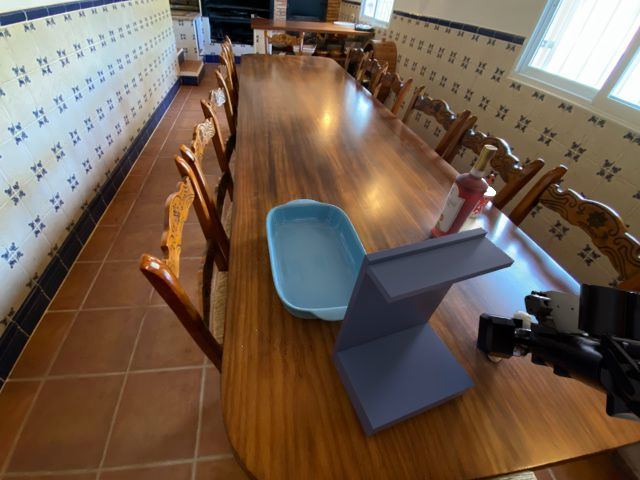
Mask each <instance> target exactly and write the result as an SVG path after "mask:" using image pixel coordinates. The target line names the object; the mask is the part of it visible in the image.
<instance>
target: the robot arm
mask: <svg viewBox="0 0 640 480" xmlns="http://www.w3.org/2000/svg"><path fill="white" fill-rule="evenodd" d="M579 286H580V287H579V297H578V296H577V295H576V294H574V293H571V292H566V291H565V292H564V291H560V290H559V291H558V290H554V289H553V290H552V289H551V290H550V289H549V290H545V291H544V290H543V291H542V290H540V291H538V290H531V291H530V294H527V295H525V296H524V298H523V300H524V301H523V302H524V306H525V312H526V313H527V314H529V315H530V316H533V317H534V318H535V320H536V322H534V321H533V322H531V323H530V330H527V329H523V319H516V318H512V317H509V316H508V317H507V316H504V315H503V316H502V315H499V314H492V313H486V312H483V313H481V314H480V315H479V317H478V329H477V339H476V348H477V350H478V351H479V352H480V353H482V354H484V355H485V356H487V357H488V356H493V357H499V358H502V359H505V360H510V359H511V358H512V357H518V358H523V357H525V356H528V354H531V355H530V356H531V357H530V363H533V364H534V365H536V366H543V367H546V368H547V367H548V368H551V369H552V374H554V375H555V376H557V377H560V378H566V379H571V380H576V381H578V382H580V383H581V384H584V385H586V386H588V387H590V388H592V389H593V390H596V391H598V392H600V393H602V394H603V395H606V397H605V414H606V415H607V416H608V417H610V418H615V419H620V420H626V421H630V422H631V421H632V422H637V423H640V291H636V290H629V289H624V288H617V287H612V286H611V287H610V286H605V285H604V286H603V285H597V284H592V283H591V284H589V283H584V282H579ZM523 346H526V347H523ZM521 356H522V357H521Z"/></svg>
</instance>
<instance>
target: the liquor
mask: <svg viewBox="0 0 640 480" xmlns="http://www.w3.org/2000/svg"><path fill="white" fill-rule="evenodd" d="M497 151H498V148H497V146H494V145H492V144H484V146H483V147H482V149H481V151H480V154H479V157H478V159H477V160H476V162H475V164H474V165H473V166H472V168H471V170H470V171H469V172H464V173H461V174H460V173H459V174H458V175H456V177H455V179H454V181H453V183H452V185H451V188H450V190H449V192H448V195H447V197H446V199H445V201H444V202H445V203H444V205H443V207H442V209H441V212H440V213H439V216H438V218H437V220H436V222H435V224H434V226H433V227H432V228H430V234H431V236H432V237H433V238H438V237H442V236H446V235H450V234H455V233H459V232H461V230H462V228H463V227H464V225H465V224H466V222H467V221H468V219H469V218H470V215H471V213H472V212H473V210H474V209H475V207H476V206H477V205H478V203H479V202H480V200H481V198H482V197H483V195H484V194H485V192H486V191H487V189H488V188H489V187H490V186H489V185H488V184H487V183H488V181H486V179H485V178H483V177H484V175H485V173H486V170H487V168H488V166H489V163H490V161H492V159H493V158H494V157H495V155H496V153H497Z"/></svg>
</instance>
